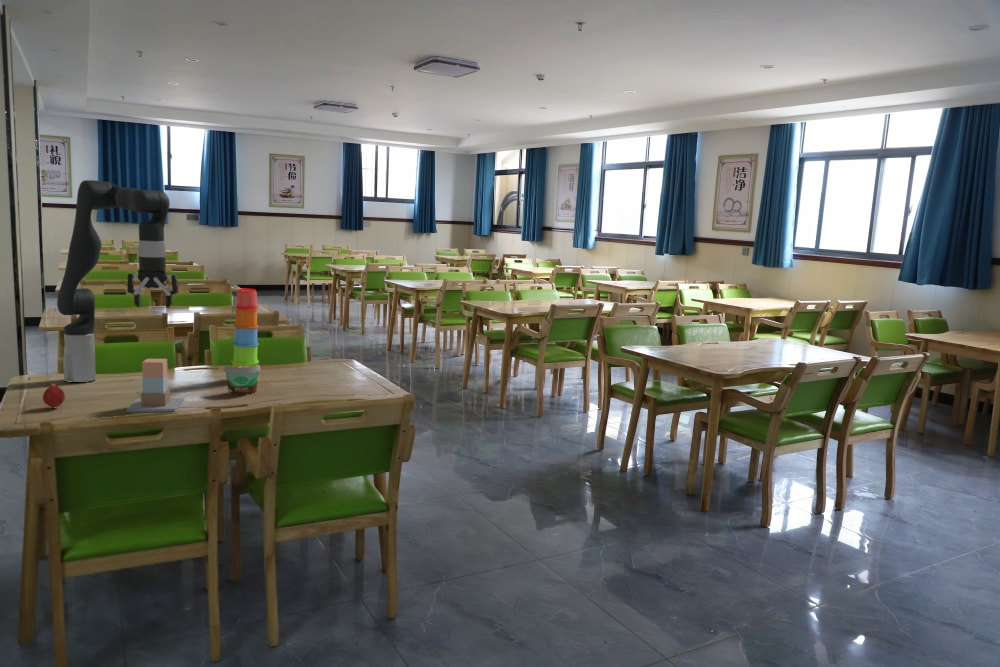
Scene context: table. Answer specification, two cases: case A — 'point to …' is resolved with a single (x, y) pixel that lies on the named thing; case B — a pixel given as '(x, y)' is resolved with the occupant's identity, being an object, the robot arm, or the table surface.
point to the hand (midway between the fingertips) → (153, 307)
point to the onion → (53, 396)
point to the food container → (242, 379)
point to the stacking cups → (246, 329)
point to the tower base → (155, 408)
